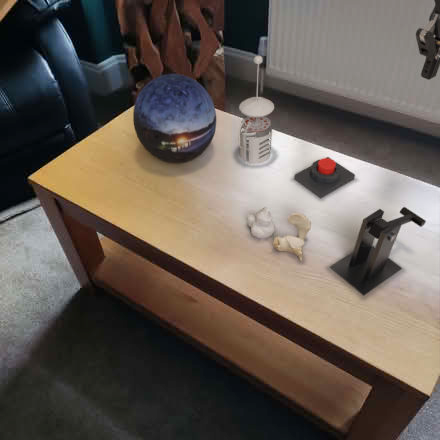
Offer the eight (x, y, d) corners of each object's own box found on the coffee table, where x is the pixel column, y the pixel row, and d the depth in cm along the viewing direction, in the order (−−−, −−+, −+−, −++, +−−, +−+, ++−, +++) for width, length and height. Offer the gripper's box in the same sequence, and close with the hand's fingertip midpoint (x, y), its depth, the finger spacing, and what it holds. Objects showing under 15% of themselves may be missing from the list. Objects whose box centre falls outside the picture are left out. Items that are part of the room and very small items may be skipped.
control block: (326, 164, 108) (329, 150, 105) (353, 182, 103) (356, 168, 100) (293, 181, 104) (295, 168, 101) (320, 201, 100) (322, 187, 96)
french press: (281, 153, 111) (290, 52, 91) (257, 177, 106) (262, 75, 86) (248, 141, 115) (250, 41, 95) (224, 164, 109) (221, 63, 89)
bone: (284, 269, 86) (278, 220, 82) (269, 261, 91) (263, 216, 88) (321, 258, 88) (316, 210, 84) (304, 251, 94) (299, 206, 90)
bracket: (366, 246, 91) (383, 195, 80) (400, 272, 86) (424, 221, 75) (328, 271, 87) (341, 221, 76) (362, 299, 83) (381, 250, 72)
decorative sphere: (233, 152, 112) (232, 75, 96) (177, 190, 104) (166, 113, 88) (181, 125, 121) (172, 50, 105) (126, 158, 112) (107, 81, 96)
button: (325, 162, 103) (327, 155, 101) (338, 170, 101) (339, 164, 99) (313, 168, 101) (314, 162, 100) (325, 177, 99) (327, 170, 98)
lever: (401, 214, 86) (407, 204, 84) (422, 228, 83) (428, 217, 81) (361, 228, 78) (367, 217, 77) (383, 243, 76) (389, 232, 74)
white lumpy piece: (266, 246, 92) (268, 219, 85) (240, 234, 94) (240, 206, 88) (279, 231, 94) (282, 203, 88) (254, 220, 97) (255, 192, 90)
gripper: (461, -20, 61) (421, 97, 75) (515, -42, 66) (467, 73, 80) (418, -33, 65) (387, 81, 79) (471, -53, 70) (433, 58, 83)
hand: (427, 76), depth 79 cm, fingers closed
